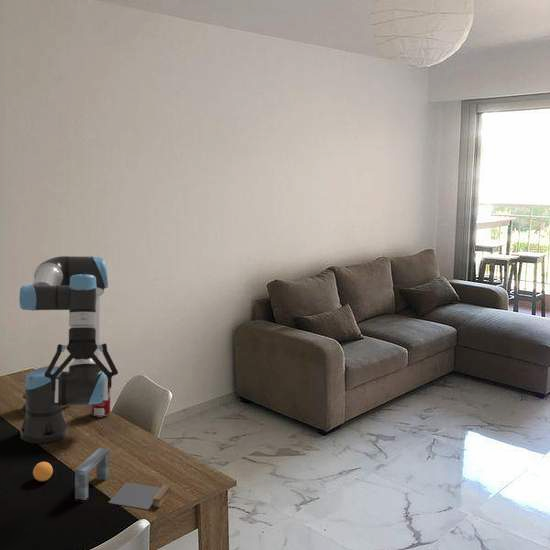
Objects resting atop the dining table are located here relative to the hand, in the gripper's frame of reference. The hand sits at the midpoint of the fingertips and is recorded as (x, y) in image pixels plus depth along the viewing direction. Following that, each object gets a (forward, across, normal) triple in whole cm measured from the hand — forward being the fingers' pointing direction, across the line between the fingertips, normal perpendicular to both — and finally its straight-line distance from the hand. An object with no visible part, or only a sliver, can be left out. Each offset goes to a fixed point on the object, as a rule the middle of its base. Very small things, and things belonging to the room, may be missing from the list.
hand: (81, 401), depth 178 cm
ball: (+21, -10, +13) cm, 26 cm away
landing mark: (+28, +16, -2) cm, 32 cm away
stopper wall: (+28, +22, -6) cm, 36 cm away
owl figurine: (+6, -6, +69) cm, 70 cm away
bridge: (+26, +4, +6) cm, 26 cm away
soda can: (+9, +12, +57) cm, 59 cm away
